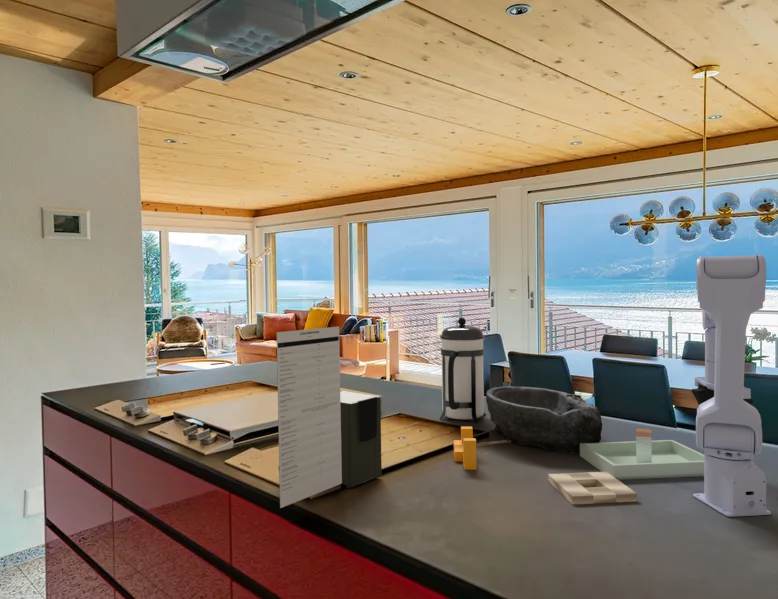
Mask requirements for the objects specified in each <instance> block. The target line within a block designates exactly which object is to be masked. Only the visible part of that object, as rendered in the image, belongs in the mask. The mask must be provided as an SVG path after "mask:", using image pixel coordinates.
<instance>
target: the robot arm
mask: <svg viewBox="0 0 778 599" xmlns="http://www.w3.org/2000/svg"><path fill="white" fill-rule="evenodd" d="M695 265H696V266H695V267H696V269H695V271H696V274H695V275H696V278H695V280H696V281H695V282H696V283H695V284H696V292H697V303H699V308H700V309H702V328H703V331H704V376H695V377H694V386H695V387H697V388H692V389H691V393H692V395H693V396H694V398H695V399H696V402H697V404H698V408H696V417H695V446H696V447H697V448H698V449H699V450H703V454H704V476H703V478H704V480H703V486H704V487H703V490H704V491H703V492H704V493H702V492H700V493H698V492H697V493H693V496H692V497H694V498H696V500H698V501H700V502H702V503H704V504H706V505H707V506H709V507H710V508H712V509H714V510H715V511H717V512H719V513H720V514H721V515H724V516H726V517H731V518H732V517H734V518H735V517H751V516H752V517H753V516H769V515H772V512H771V511H770V510H768V509H767V477H766V474H765V472H764V471H763V470H762V468H760V467H759V466H758V465H757V464H755V462H754V457H755V456H759V454H761V453H762V450H763V430H762V429H763V428H762V418H761V414H760V413H759V410H758V409H757V408H756V407H755V406H753V404H754V398H752V396H751V395H752V392H751V390H752V389H751V388H749V387H746V386H744V385H745V384H744V383H745V360H746V338H747V337H746V335H747V327H748V324H749V320H750V317H751V314H753V313H755V312H757V311H759V310H761V309H763V308H764V302H765V301H766V285H767V261H766V258H765V257H764V256H763V255H762V254H761V253H760V254H756V255H755V254H754V255H752V254H751V255H724V256H723V255H720V256H704V255H700V256H699V257H698V258H697V259H696V264H695Z"/></svg>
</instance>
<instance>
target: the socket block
mask: <svg viewBox="0 0 778 599" xmlns="http://www.w3.org/2000/svg"><path fill="white" fill-rule="evenodd" d="M547 482H549V484H551V486H553V488H555V489H556V490H557V491H558V492H559V493H560V494H561V495H562V496H563V497H564V498H565V499H566V500H567V501H568V502H569V503H570V504H571V505H585V504H586V505H590V504H591V505H592V504H607V503H609V504H611V503H627V502H630V503H631V502H638V492H636V491H635V490H633V489H632V488H630V487H629V486H627V485H626V484H624V483H623V482H622V481H621V480H617V479H616V478H614V477H613V476H612V475H610V474H609V473H607V472H601V471H589V472H567V473H548V474H547Z"/></svg>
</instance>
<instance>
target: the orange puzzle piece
mask: <svg viewBox="0 0 778 599" xmlns="http://www.w3.org/2000/svg"><path fill="white" fill-rule="evenodd" d="M473 434H474V431H473V426H460V440H459V439H454V440H453V457H454V462H462V464H463V469H464V471H465V470H468V471H469V470H470V471H471V470H477V439H476V438H474V435H473Z"/></svg>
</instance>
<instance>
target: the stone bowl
mask: <svg viewBox="0 0 778 599" xmlns="http://www.w3.org/2000/svg"><path fill="white" fill-rule="evenodd" d="M485 400H486V405H487V410H488V413H489V415H490V417H489V418H490V421H491V422H492V423H493V424H494V425H495V426H492V427H491V428H490V430H493V431H494V432H496V433H497V435H501V434H502V435H503V438H507V439H508V440H509V441H510V442H513V443H515V444H517V445H520V446H527V447H528V446H529V447H535V448H540V449H545V450H552V451H556V452H560V453H563V454H572V455H575V454H578V455H580V443H601V440H602V431H603V422H602V421H603V420H602V413H601V412H600V409H599V407H598V406H595V405H594V404H591V403H587V401H585V400H584V399H583V398H582V395H580V394H574V393H572V394H571V393H568V392H566V391H565V392H564V391H559V390H554V389H548V388H543V387H531V386H506V385H505V386H499V387H492V388H490V389H488V390H486V393H485Z"/></svg>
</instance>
